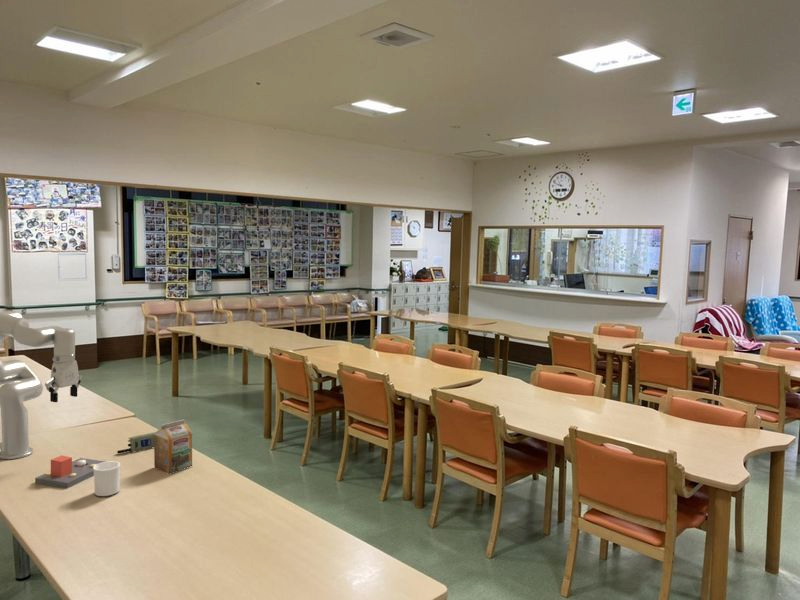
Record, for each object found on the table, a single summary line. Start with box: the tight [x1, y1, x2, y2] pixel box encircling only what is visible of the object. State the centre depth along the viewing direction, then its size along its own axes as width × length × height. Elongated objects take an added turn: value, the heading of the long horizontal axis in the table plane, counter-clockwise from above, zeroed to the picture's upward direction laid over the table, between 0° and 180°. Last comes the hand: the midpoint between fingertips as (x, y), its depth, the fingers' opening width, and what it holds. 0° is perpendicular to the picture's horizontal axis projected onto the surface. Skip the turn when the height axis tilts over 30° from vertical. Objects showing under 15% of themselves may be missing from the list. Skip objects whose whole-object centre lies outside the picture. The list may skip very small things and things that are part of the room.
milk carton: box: [153, 419, 193, 475], centre depth 237 cm, size 11×11×19 cm
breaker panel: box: [34, 457, 106, 489], centre depth 227 cm, size 15×22×3 cm
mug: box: [93, 460, 121, 499], centre depth 212 cm, size 11×9×10 cm
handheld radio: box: [117, 431, 156, 454], centre depth 259 cm, size 7×3×25 cm
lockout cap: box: [50, 455, 73, 477], centre depth 222 cm, size 5×5×6 cm
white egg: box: [77, 460, 86, 467], centre depth 232 cm, size 3×3×2 cm
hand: (64, 399), depth 239 cm, fingers open, 9 cm apart
